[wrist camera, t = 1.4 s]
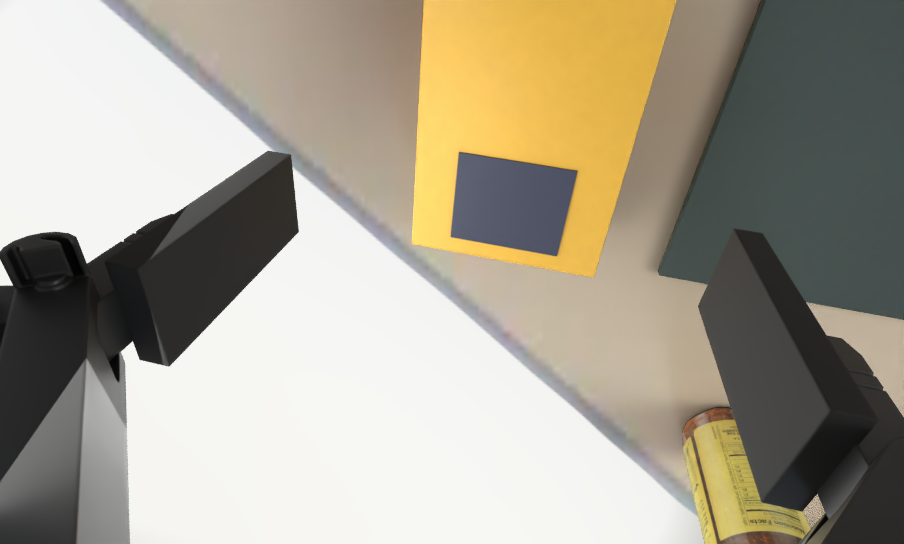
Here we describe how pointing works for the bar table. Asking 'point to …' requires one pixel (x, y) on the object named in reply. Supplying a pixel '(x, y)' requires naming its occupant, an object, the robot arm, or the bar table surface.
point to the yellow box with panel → (530, 124)
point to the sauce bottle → (732, 487)
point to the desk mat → (809, 155)
